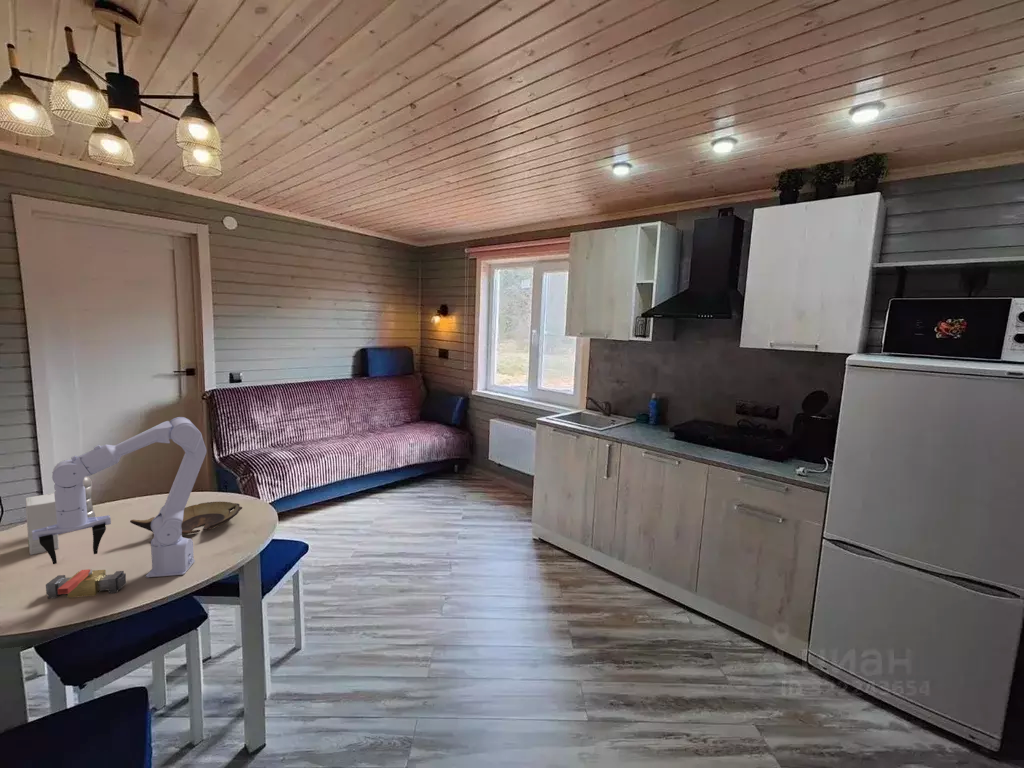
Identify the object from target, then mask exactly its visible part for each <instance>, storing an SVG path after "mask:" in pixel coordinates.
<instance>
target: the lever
mask: <svg viewBox="0 0 1024 768" xmlns="http://www.w3.org/2000/svg"><path fill="white" fill-rule="evenodd" d="M92 570H93V569H91V568H90V569H89V568H88V569H81V570H79V571H80V572H79V571H78V572H79V573H78V574H76V573H75V574H76V575H75V574H74V575H75V576H74V575H73V576H74V577H73V578H72V579H70V580H69V581H67V582H66V583H64V584H63V585H62V586H61V587H60V588H58V594H60V595H66V594H67V595H68V594H69V593H70V592H71V591H72V590H73V589H74V588H76V587H77V586H78V584H79V583H80V582H81V581H83V580H84V579H85V578H86V577H87V576H90V575H92V573H93V572H92Z"/></svg>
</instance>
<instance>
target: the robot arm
mask: <svg viewBox="0 0 1024 768" xmlns="http://www.w3.org/2000/svg"><path fill="white" fill-rule="evenodd" d="M203 438H204V437H203V435H202V432H201V431H200V430H199V429H198V427H196V425H195V424H194V423H193V422H192V420H190V419H189V418H186V417H184V416H178V417H174V418H172V419H170V420H166V421H163V422H160V423H159V424H157V425H155V426H153V427H150V428H149V429H147V430H144V431H143V432H139V433H138V434H136V435H133V436H131V437H130V438H127V439H126V440H123V441H122V442H119V443H117V444H115V445H114V444H106V443H105V444H102V445H100V444H97V445H95V446H93V449H91V450H89V451H87V452H85V453H82V454H80V455H78V456H77V455H74V456H71V457H70V458H71V459H66V460H62V461H60V462H58V463H57V464H55V466H54V468H53V470H52V472H51V473H52V477H51V478H52V481H53V483H54V486H53V487H54V495H55V507H56V518H57V524H55V525H52V526H48V527H45V528H41V529H37V530H33V531H32V537H33V540H38V539H39V542H40V544H41V546H42V547H43V548H44V549H45V550H46V551H47V552H46V553H48V554H47V555H48V556H49V557H50V559H51V561H52V565H56V564H58V562H57V553H56V549H54V539H53V535H57V534H58V535H61V534H62V535H63V534H66V533H70V532H71V533H72V532H77V531H80V530H86V529H88V528H89V529H90V528H91V529H92V530H91V531H92V553H93V555H97V554H98V550H99V546H100V543H101V540H102V538H103V536H104V535H105V532H106V529H107V525H108V526H109V525H112V520H111V515H109V514H108V515H103V516H102V515H101V516H95V517H91V518H88V517H87V504H86V492H85V487H84V486H83V480H84V478H85V477H86V476H88V477H91V476H93V475H95V474H97V473H100V472H101V471H104V470H106V469H108V468H110V467H113V466H115V465H117V464H119V462H120V460H121V458H122V457H123V456H125V455H128V454H131V453H133V452H135V451H138V450H140V449H142V448H145V447H147V446H149V445H152V444H154V443H162V444H171V442H170V440H171V441H172V442H174V443H175V444H177V445H178V446H180V447H181V449H182V450H183V451H184V455H183V457H182V460H181V462H180V465H179V468H178V470H177V473H176V475H175V478H174V480H173V483H172V485H171V488H170V490H169V493H168V495H167V498H166V500H165V503H164V505H163V506H162V507H161V508H160V510H159V512H158V514H157V515H155V516H154V517H155V518H154V519H153V520H152V522H151V529H152V531H153V532H152V531H151V532H152V533H153V538H152V539H150V549H151V550H150V551H151V555H150V556H151V570H150V571H149V572H148V573H147V574H146V575H145V578H156V577H157V578H158V577H167V576H168V577H169V576H170V577H172V576H182V575H185V574H186V572H187V571H188V570H189V569H190V568H191V566H192V565H193V564H194V563H195V561H196V559H194V557H195V556H194V541H193V539H192V538H187V537H183V534H182V529H181V524H182V521H183V514H184V509H185V508H186V507H187V504H188V501H189V498H190V497H191V493H192V491H193V488H194V485H195V483H196V481H197V478H198V476H199V472H200V470H201V468H202V465H203V462H204V461H205V457H206V455H207V447H206V444H205V442H204V439H203Z"/></svg>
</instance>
